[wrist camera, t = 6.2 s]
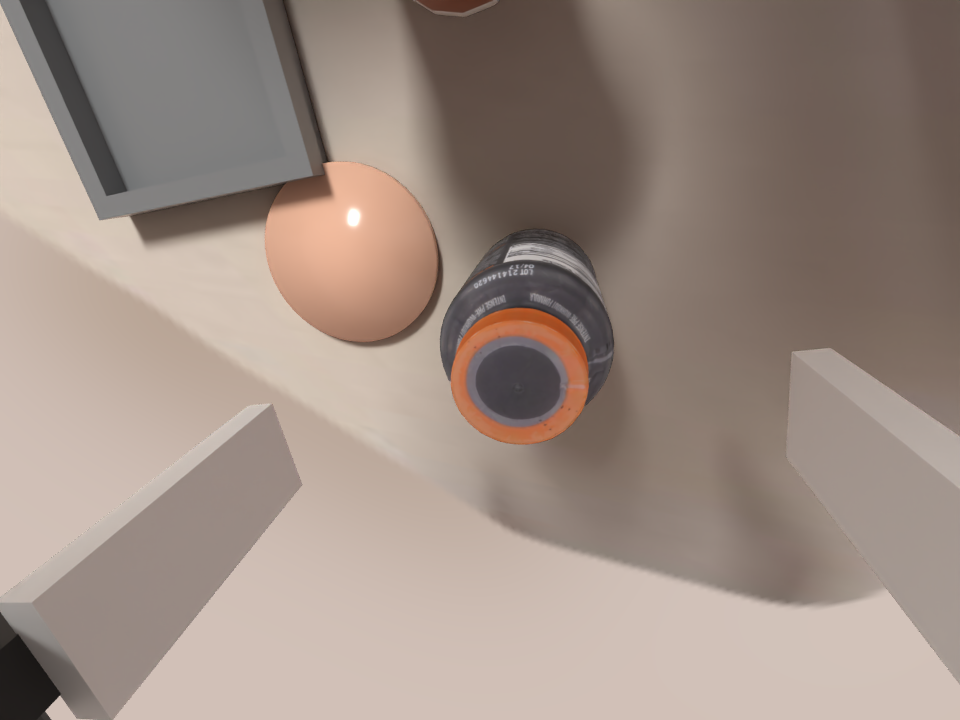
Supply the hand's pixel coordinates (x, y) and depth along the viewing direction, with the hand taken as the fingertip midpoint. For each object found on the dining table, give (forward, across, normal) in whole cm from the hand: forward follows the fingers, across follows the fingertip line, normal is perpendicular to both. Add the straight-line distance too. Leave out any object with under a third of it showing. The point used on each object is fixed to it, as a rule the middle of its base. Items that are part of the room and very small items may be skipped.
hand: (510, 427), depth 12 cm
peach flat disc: (+13, -9, +4) cm, 16 cm away
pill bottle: (+13, 0, 0) cm, 13 cm away
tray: (+13, -15, +14) cm, 24 cm away
